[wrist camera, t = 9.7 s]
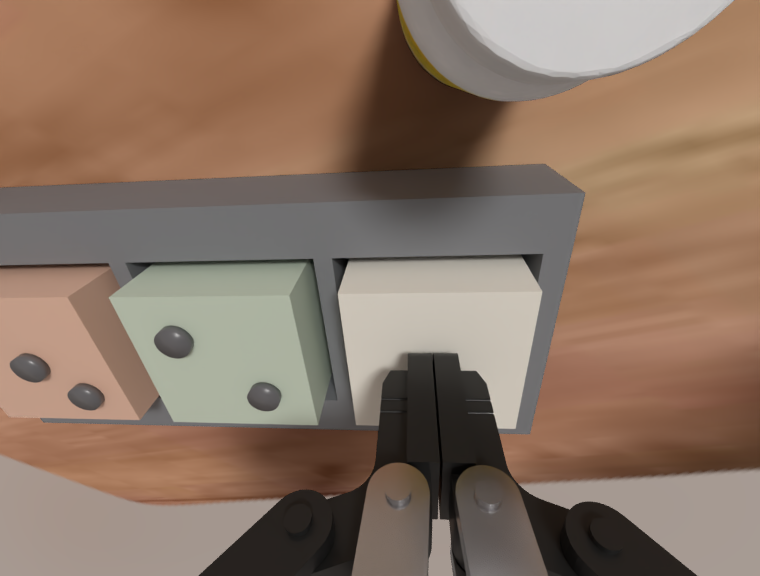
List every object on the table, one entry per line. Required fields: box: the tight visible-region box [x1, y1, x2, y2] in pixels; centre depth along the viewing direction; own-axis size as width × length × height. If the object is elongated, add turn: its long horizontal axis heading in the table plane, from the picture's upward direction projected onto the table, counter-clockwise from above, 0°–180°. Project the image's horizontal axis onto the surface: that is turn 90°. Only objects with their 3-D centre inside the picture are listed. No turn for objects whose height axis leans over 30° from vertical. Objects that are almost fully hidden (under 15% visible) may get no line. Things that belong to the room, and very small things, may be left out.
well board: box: [0, 164, 585, 434], centre depth 15 cm, size 22×10×4 cm, turn 94°
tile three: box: [0, 263, 159, 420], centre depth 14 cm, size 6×6×3 cm
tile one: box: [338, 254, 542, 429], centre depth 13 cm, size 6×6×3 cm
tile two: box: [109, 259, 332, 425], centre depth 13 cm, size 6×6×3 cm
